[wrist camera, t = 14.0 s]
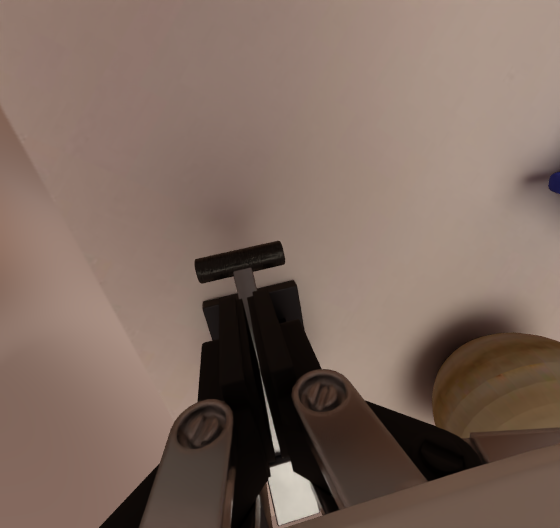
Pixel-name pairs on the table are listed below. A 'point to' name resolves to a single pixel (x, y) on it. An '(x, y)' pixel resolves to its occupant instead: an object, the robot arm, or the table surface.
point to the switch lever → (241, 264)
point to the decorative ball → (499, 385)
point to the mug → (555, 182)
